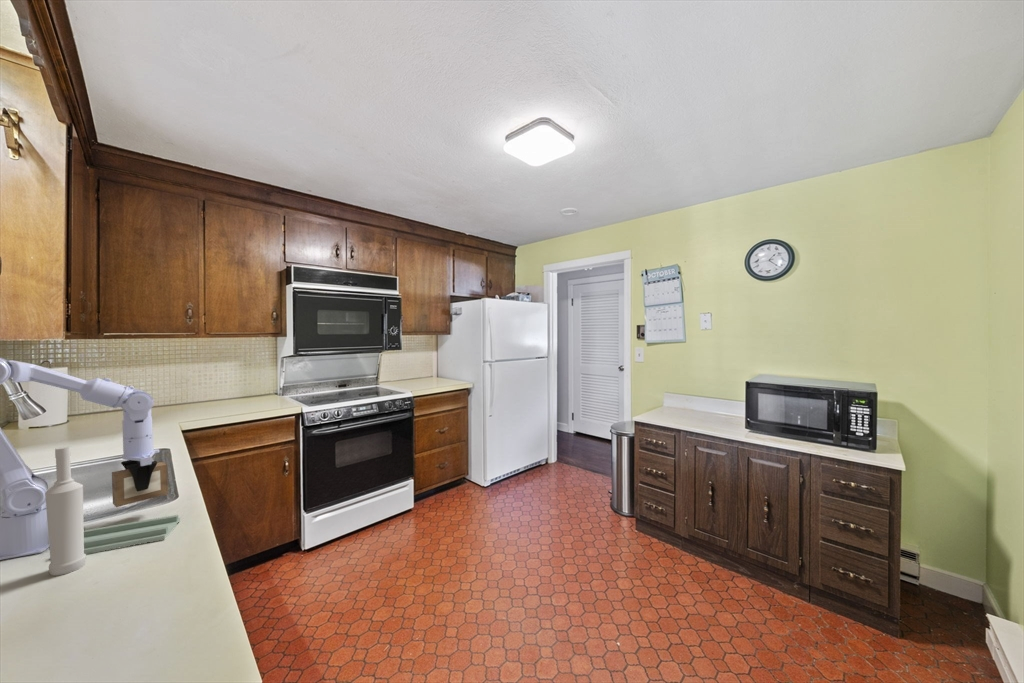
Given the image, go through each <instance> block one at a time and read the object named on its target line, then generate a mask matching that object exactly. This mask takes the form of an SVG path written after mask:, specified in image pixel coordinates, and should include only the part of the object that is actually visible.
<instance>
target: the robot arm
mask: <svg viewBox="0 0 1024 683" xmlns="http://www.w3.org/2000/svg"><path fill="white" fill-rule="evenodd" d="M10 378H11V379H12V381H11V383H12V384H13V383H28V382H35V383H39V384H43V385H48V386H51V387H56V388H60V389H63V390H68V391H72V392H76V393H79V395H80V397H81V399H82V400H83V401H87V402H91V403H95V404H97V405H98V404H99V405H102V406H106V407H108V408H109V407H110V408H113V409H117V408H121V409H122V416H123V419H122V420H121V422H122V423H121V424H122V426H121V427H122V428H121V429H122V450H123V455H122V460H123V461H121V462H120V464H121V465H122V467H123V468H124V470H125V469H128V470H129V471H130V473H131V475H132V477H133V480H134V485H135V488H136V490H137V491H142V490H146V489H148V487H149V483H150V479H151V475H152V472H153V470H154V468H155V466H156V465H157V463H158V461H156V460H152V457H153V456H154V455H155V454H157V453H158V454H159V453H160V449H158V448H155V449H154V435H153V434H154V432H153V431H154V429H153V416H152V414H153V413H152V408H153V407H154V405H155V401H154V399H153V397H152V396H151V394H149V393H148V392H146V391H144V390H142V389H139V388H135V386H134V385H128V386H127V385H123V384H119V383H118V382H113V381H112V379H111V378H109V377H104V378H101V377H96V378H93V379H89V380H86V379H83V378H80V377H76V376H73V375H70V374H66V373H64V372H61V371H57V370H54V369H51V368H47V367H45V366H41V365H38V364H35V363H34V364H33V363H30V362H24V361H20V360H19V361H18V360H13V359H11V360H7V359H6V358H3V357H0V386H1V385H2V384H4V383H5V382H6V381H7V380H9V379H10ZM48 485H49V484H48V482H47V480H45V478H43V477H41V476H39V475H38V476H37V475H36V474H35V473H34V472H33V471H32V469H31V467H29V466H28V465H27V464H26V463H25V461H24V460H23V459H22V456H21V455H20V454H19V453H18V451H17V449H16V448H15V446H14V445H13V443H12V442H11V440H10V439H9V438H8V436H7V435H6V433H5V431H4V430H3V429H2V427H1V426H0V493H1V495H2V502H1V503H2V508H3V509H4V510H2V511H1V512H0V561H2V560H6V559H12V558H19V557H24V556H30V555H35V554H40V553H43V552H45V551H46V550H47V549H48V548H49V536H48V523H47V510H46V498H45V493H46V492H47V491H48V490H49V489H48V488H49V486H48Z"/></svg>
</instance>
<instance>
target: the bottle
mask: <svg viewBox="0 0 1024 683" xmlns="http://www.w3.org/2000/svg"><path fill="white" fill-rule="evenodd" d="M54 458H55V467H56V468H55V469H56V472H55V473H56V481H55V482H54V483H53V484H54V485H52V486H51V487H50V488H49V489H47V492H46V493H45V498H46V510H47V523H48V536H49V547H48V548H49V560H50V564H48V571H49V572H48V573H49V574H50V575H51V576H55V577H56V576H61V575H66V574H70V573H73V572H75V571H77V570H79V569H81V568H83V567H84V566H85V564H86V561H87V554H84V530H85V529H84V528H85V527H84V525H85V524H84V522H85V521H84V484H82V483H79V482H77V481H75V478H72V469H71V466H72V465H71V446H70V445H69V446H68V445H67V446H60V447H57V448H55V449H54Z"/></svg>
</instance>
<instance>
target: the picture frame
mask: <svg viewBox="0 0 1024 683" xmlns="http://www.w3.org/2000/svg"><path fill="white" fill-rule="evenodd" d="M168 480H169V479H168V463H166V462H164V461H161V462H157V465H156V466H155V468H154V470H153V472H152V475H151V479H150V483H149V487H148V489H146V490H142V491H137V490H136V488H135V485H134V480H133V477H132V475H131V473H130V471H129V470H128V469H125V468H124V469H123V470H122V469H121V470H115V471H112V472H111V484H112V486H111V487H112V488H111V489H112V504H113V506H114V507H116V508H119V507H124V506H127V505H130V504H135V503H138V502H142V501H146V500H150V499H154V498H157V497H160V496H166V495H169V485H168V484H169V483H168Z"/></svg>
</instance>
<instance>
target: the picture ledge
mask: <svg viewBox="0 0 1024 683" xmlns="http://www.w3.org/2000/svg"><path fill="white" fill-rule="evenodd" d="M179 521H180V522H181V518H180V517H179V514H175V515H174V514H173V515H168V516H163V517H156V518H151V519H145V520H138V521H133V522H126V523H122V524H121V523H120V524H115V525H107V526H104V527H95V528H90V529H84V554H86V555H89V554H94V553H101V552H105V550H106V551H109V550H111V549H112V550H117V549H120V548H119V547H122V548H125V547H124V546H128V547H130V546H129V545H133V546H135V545H134V544H139V545H141V544H140V543H144V544H148V543H147V542H150V543H153V541H155V542H159V541H158V540H160V541H164V540H163V539H165V538H166V537H167V538H168V537H169V535H170V534H171V533H172V532H173V531H172V529H173V528H174V527H175V526H176V524H177V523H178V522H179ZM180 522H179V523H180ZM179 523H178V524H179ZM176 527H177V526H176ZM176 527H175V528H176ZM175 528H174V529H175ZM174 529H173V530H174ZM171 531H172V532H171ZM170 532H171V533H170ZM169 533H170V534H169ZM168 534H169V535H168ZM167 538H166V539H167ZM166 539H165V540H166ZM116 548H117V549H116Z"/></svg>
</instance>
